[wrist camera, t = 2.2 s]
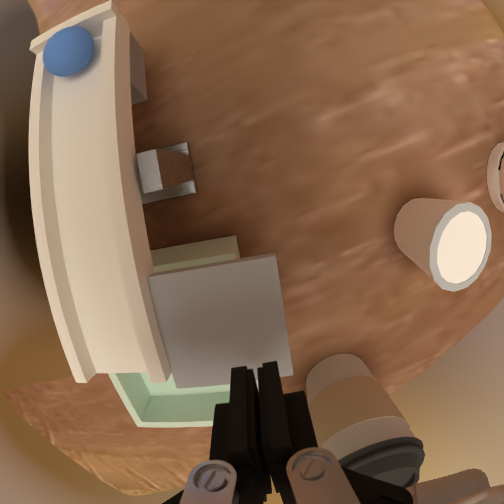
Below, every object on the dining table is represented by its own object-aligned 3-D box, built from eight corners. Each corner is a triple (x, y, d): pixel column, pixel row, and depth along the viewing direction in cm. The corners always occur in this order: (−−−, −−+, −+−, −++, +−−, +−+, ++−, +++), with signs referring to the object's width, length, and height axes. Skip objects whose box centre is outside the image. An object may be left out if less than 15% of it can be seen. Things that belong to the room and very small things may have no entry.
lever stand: (98, 167, 22) (28, 174, 13) (188, 143, 22) (152, 129, 13) (107, 212, 23) (42, 239, 14) (197, 191, 23) (167, 209, 14)
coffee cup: (291, 411, 30) (311, 525, 16) (297, 348, 27) (332, 481, 13) (366, 401, 30) (409, 501, 16) (382, 340, 28) (453, 446, 13)
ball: (63, 56, 12) (39, 32, 9) (104, 37, 12) (83, 8, 9) (57, 93, 12) (27, 70, 9) (100, 73, 12) (74, 44, 9)
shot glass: (395, 274, 25) (434, 306, 19) (379, 204, 24) (422, 219, 17) (449, 248, 25) (494, 271, 18) (438, 182, 23) (487, 191, 16)
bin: (96, 260, 24) (69, 280, 20) (236, 235, 24) (233, 252, 19) (149, 395, 29) (137, 426, 24) (265, 385, 29) (268, 420, 24)
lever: (76, 73, 16) (31, 40, 10) (230, 27, 16) (222, -30, 10) (117, 359, 18) (76, 404, 12) (285, 341, 18) (298, 394, 12)
